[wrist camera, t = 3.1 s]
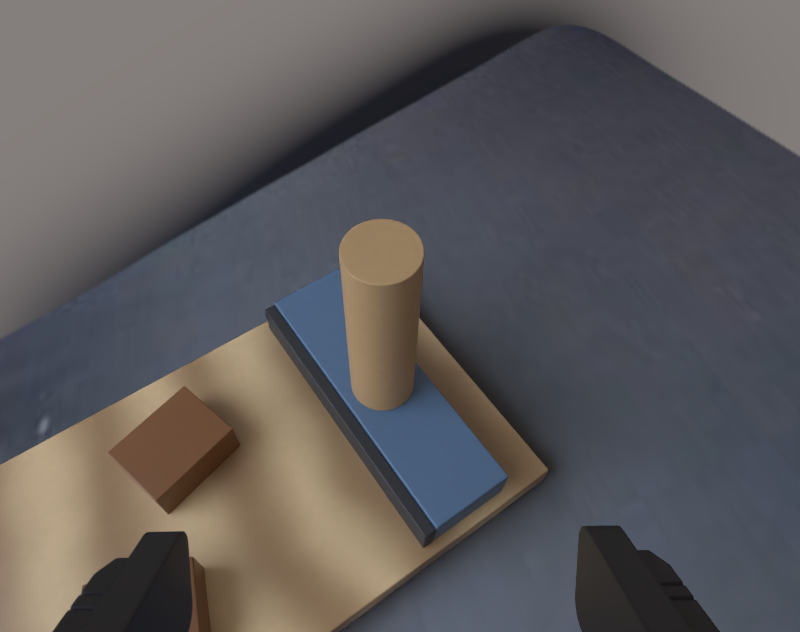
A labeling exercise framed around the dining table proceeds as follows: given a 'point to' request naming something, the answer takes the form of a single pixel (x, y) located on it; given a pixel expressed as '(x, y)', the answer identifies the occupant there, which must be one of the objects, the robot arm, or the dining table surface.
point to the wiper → (386, 379)
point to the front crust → (197, 598)
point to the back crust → (175, 449)
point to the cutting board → (239, 499)
